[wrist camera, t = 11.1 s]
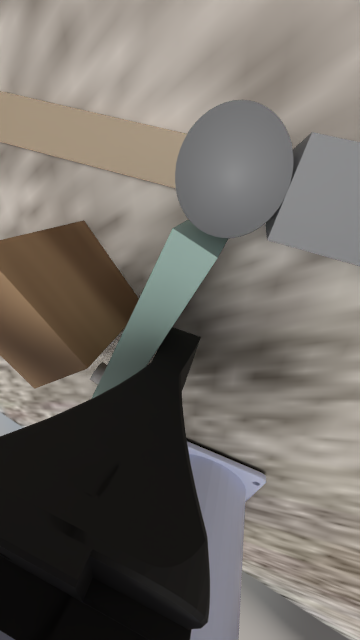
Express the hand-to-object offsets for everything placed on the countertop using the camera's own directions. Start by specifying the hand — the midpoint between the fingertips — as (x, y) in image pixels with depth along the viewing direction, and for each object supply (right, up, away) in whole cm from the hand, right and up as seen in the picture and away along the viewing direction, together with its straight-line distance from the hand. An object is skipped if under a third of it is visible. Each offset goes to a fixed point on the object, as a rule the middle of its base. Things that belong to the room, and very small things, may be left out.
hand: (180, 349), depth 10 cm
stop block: (-5, +3, +3) cm, 7 cm away
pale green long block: (-1, +2, +1) cm, 2 cm away
